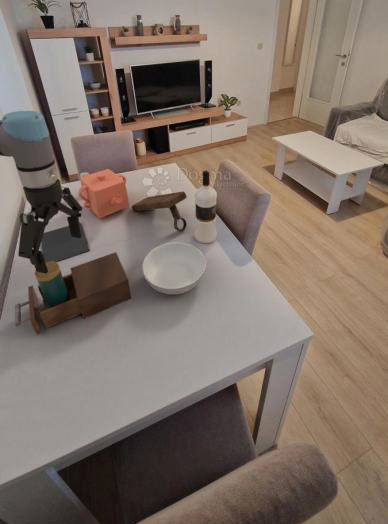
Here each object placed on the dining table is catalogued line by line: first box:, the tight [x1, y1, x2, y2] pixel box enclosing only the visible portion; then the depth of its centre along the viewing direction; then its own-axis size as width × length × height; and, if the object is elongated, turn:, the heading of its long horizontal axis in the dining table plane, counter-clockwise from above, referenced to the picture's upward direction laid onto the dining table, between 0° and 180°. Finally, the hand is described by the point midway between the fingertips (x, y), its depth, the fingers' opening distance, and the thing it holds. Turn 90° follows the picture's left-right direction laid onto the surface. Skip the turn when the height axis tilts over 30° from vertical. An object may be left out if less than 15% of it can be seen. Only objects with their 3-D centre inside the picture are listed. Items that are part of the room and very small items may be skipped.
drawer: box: [14, 273, 82, 336], centre depth 81 cm, size 18×12×7 cm
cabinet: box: [70, 251, 132, 320], centre depth 87 cm, size 15×14×9 cm
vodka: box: [193, 170, 218, 244], centre depth 105 cm, size 9×9×30 cm
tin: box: [33, 261, 71, 308], centre depth 80 cm, size 6×6×15 cm
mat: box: [41, 221, 90, 263], centre depth 110 cm, size 20×16×1 cm
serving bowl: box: [142, 241, 207, 295], centre depth 93 cm, size 21×21×7 cm
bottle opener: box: [131, 191, 188, 232], centre depth 122 cm, size 10×16×30 cm
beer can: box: [79, 171, 91, 179], centre depth 139 cm, size 5×5×12 cm
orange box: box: [77, 168, 130, 219], centre depth 125 cm, size 25×23×18 cm
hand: (60, 252), depth 73 cm, fingers open, 13 cm apart
